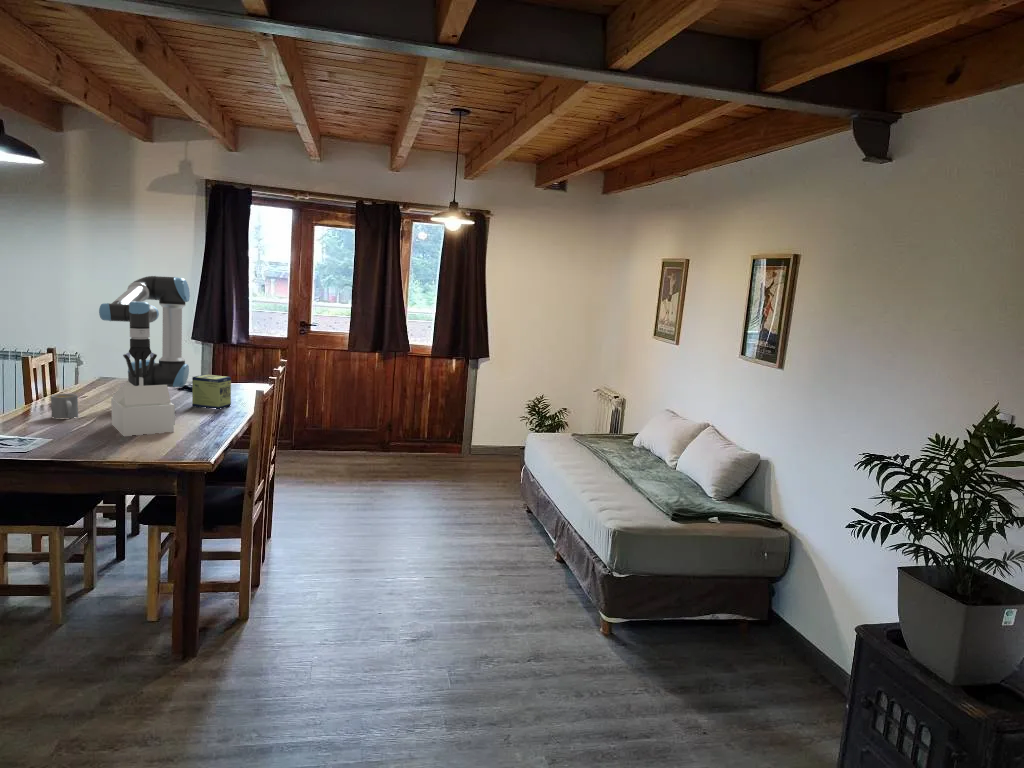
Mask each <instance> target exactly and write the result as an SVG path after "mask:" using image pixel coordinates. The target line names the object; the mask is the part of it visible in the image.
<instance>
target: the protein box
mask: <svg viewBox="0 0 1024 768" xmlns="http://www.w3.org/2000/svg"><path fill="white" fill-rule="evenodd" d="M191 380H192V383H191V385H192V391H191V392H192V394H191V395H192V396H191V397H192V402H191V403H192V406H191V407H193V406H196V407H195V408H201V407H206V408H205V409H209V408H216V409H215V410H217V409H219V410H221V409H220V408H222V409H225V408H224V407H226V408H228V407H227V406H230V405H231V406H232V400H231V399H232V377H231V376H224V375H223V376H222V375H214V374H202V375H196V376H192V379H191ZM231 406H230V407H231Z"/></svg>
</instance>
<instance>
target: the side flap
mask: <svg viewBox="0 0 1024 768" xmlns="http://www.w3.org/2000/svg"><path fill="white" fill-rule="evenodd" d="M126 386H134V385H133V384H131V383H130V382H128V380H127V381H126V382H125V383H124V384H122V385H121V387H120V388H119V389H118V390H117V391H116V392H115V393H114V394H113V395H112V396H111V397H112V398H114V399H115V400H116V401H117V402H119V403H120V402H121V401H122V399H123V398H124V394H123V389H122V387H126Z"/></svg>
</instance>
